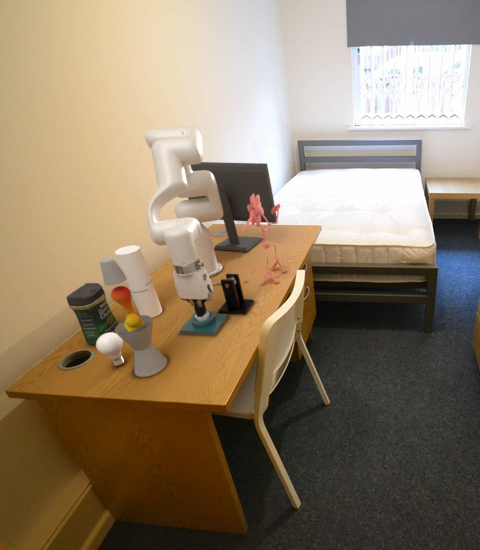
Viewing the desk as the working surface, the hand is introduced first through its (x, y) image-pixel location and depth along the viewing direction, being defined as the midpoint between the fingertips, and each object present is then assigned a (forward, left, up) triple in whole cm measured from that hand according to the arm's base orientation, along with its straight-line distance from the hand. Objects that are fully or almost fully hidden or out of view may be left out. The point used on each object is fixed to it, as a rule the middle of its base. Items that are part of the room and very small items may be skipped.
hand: (201, 314), depth 121 cm
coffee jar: (-31, -8, -5) cm, 32 cm away
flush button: (0, 0, -2) cm, 2 cm away
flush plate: (0, 0, -5) cm, 5 cm away
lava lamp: (-7, -20, -5) cm, 22 cm away
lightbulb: (-17, -20, -5) cm, 26 cm away
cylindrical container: (-24, +6, -5) cm, 25 cm away
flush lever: (+2, +11, +4) cm, 12 cm away
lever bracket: (+6, +11, -5) cm, 14 cm away
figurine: (+9, +35, -5) cm, 36 cm away
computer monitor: (-16, +66, -5) cm, 68 cm away
